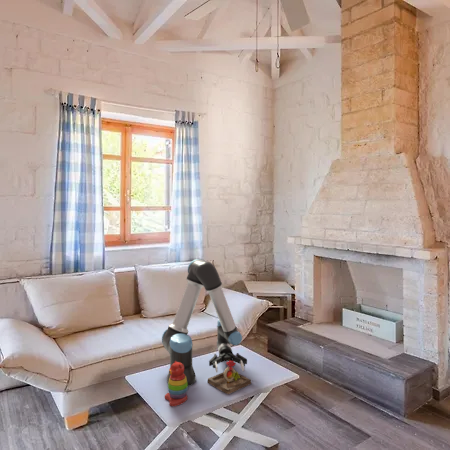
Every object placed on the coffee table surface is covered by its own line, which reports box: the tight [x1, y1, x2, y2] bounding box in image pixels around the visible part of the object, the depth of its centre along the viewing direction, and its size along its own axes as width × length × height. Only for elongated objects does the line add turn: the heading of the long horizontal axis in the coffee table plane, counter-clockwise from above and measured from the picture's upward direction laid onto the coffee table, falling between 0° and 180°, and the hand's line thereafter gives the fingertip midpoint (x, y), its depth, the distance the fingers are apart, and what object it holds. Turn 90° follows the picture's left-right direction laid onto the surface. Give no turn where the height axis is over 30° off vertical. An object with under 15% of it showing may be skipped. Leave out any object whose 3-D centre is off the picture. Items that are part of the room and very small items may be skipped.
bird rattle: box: [223, 360, 240, 383], centre depth 189 cm, size 6×11×9 cm
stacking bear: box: [164, 361, 189, 407], centre depth 173 cm, size 11×10×18 cm
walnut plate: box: [207, 370, 252, 395], centre depth 189 cm, size 16×16×2 cm
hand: (230, 368), depth 185 cm, fingers open, 13 cm apart
